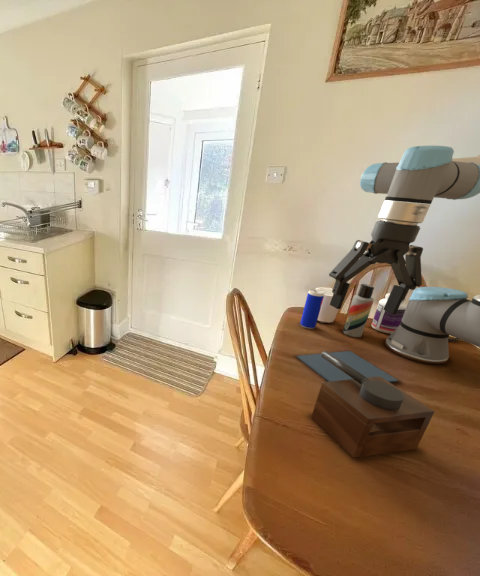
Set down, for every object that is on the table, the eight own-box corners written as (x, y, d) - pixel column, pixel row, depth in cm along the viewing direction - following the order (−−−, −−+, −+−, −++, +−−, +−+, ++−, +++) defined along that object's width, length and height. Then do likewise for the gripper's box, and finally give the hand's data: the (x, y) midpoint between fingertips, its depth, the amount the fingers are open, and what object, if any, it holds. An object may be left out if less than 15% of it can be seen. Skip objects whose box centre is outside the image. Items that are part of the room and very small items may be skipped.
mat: (349, 352, 107) (350, 350, 107) (397, 381, 92) (398, 380, 92) (296, 357, 104) (296, 355, 104) (337, 388, 90) (337, 386, 89)
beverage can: (317, 329, 122) (327, 294, 116) (302, 328, 123) (312, 293, 117) (311, 323, 126) (321, 289, 121) (297, 322, 127) (306, 288, 122)
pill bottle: (403, 333, 119) (416, 298, 114) (388, 336, 117) (401, 301, 111) (379, 323, 126) (391, 290, 121) (365, 326, 124) (376, 293, 119)
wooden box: (366, 411, 81) (379, 376, 77) (416, 449, 70) (435, 411, 66) (311, 417, 79) (322, 382, 75) (353, 458, 68) (368, 419, 64)
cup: (302, 314, 134) (309, 287, 130) (326, 314, 134) (334, 287, 129) (317, 325, 125) (325, 296, 120) (342, 325, 125) (351, 296, 120)
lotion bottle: (338, 330, 121) (353, 282, 114) (352, 329, 121) (367, 281, 114) (351, 338, 116) (368, 288, 108) (365, 337, 116) (382, 287, 109)
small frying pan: (332, 356, 85) (335, 348, 84) (409, 408, 67) (413, 398, 66) (309, 359, 84) (311, 350, 84) (380, 411, 66) (384, 401, 65)
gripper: (356, 219, 65) (322, 311, 73) (472, 230, 66) (427, 320, 73) (331, 215, 73) (302, 299, 80) (436, 224, 73) (398, 307, 80)
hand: (362, 309), depth 76 cm, fingers open, 13 cm apart
